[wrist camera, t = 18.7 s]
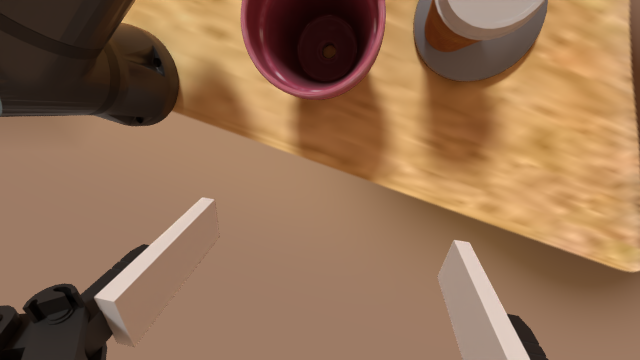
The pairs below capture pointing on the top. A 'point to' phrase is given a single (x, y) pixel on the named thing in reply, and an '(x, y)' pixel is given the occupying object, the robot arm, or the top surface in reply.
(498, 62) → the gray dome
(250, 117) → the top surface
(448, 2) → the disposable coffee cup
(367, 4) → the plant pot
